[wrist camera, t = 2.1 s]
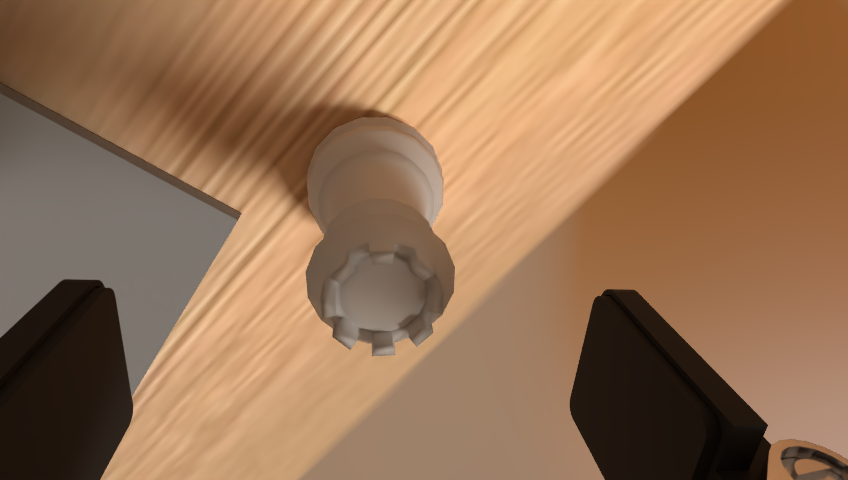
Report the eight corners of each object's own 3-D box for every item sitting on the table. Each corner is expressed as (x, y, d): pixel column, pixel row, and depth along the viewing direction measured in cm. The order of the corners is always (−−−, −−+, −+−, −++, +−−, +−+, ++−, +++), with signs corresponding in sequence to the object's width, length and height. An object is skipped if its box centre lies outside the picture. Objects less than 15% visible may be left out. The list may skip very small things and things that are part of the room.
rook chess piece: (279, 162, 17) (221, 284, 10) (393, 84, 17) (415, 157, 10) (360, 261, 19) (357, 423, 12) (465, 194, 19) (528, 325, 11)
